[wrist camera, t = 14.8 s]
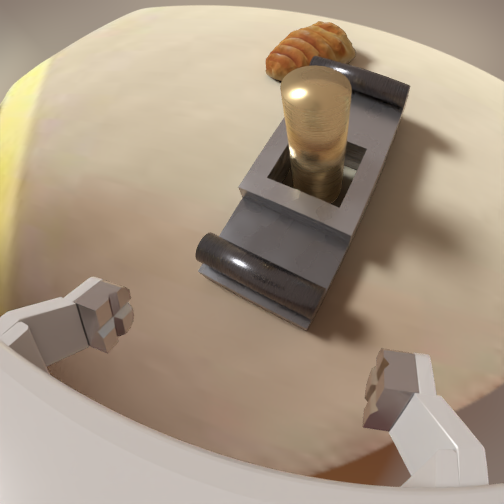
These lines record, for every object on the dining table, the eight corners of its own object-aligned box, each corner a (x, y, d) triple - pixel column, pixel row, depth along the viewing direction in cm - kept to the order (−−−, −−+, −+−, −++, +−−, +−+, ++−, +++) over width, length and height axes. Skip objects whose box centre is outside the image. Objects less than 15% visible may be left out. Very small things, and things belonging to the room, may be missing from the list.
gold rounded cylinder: (285, 195, 24) (267, 98, 15) (305, 159, 25) (298, 59, 15) (329, 214, 23) (337, 119, 13) (347, 176, 24) (360, 76, 14)
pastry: (295, 98, 27) (292, 68, 24) (251, 70, 30) (244, 42, 26) (359, 61, 28) (361, 32, 25) (314, 37, 31) (312, 11, 27)
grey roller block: (306, 331, 20) (306, 321, 16) (204, 277, 23) (178, 254, 18) (402, 118, 25) (412, 77, 20) (320, 89, 27) (319, 48, 22)
